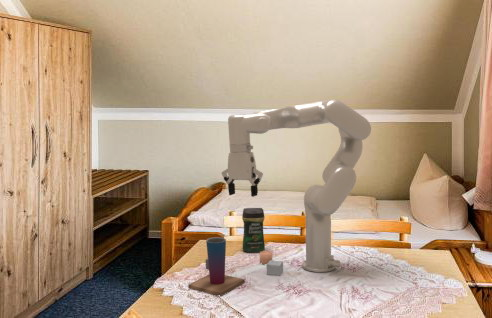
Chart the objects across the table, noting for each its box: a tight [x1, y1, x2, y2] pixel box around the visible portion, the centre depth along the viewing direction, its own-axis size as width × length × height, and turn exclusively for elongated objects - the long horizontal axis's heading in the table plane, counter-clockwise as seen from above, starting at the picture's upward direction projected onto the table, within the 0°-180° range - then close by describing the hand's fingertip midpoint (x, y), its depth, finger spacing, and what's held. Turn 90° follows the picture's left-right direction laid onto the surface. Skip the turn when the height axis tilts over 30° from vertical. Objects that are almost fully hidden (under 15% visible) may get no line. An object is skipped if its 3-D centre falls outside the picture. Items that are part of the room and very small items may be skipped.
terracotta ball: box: [259, 250, 274, 265], centre depth 186 cm, size 5×5×4 cm
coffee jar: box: [241, 207, 266, 253], centre depth 202 cm, size 10×8×19 cm
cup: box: [205, 236, 227, 285], centre depth 163 cm, size 7×7×15 cm
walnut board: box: [187, 274, 246, 297], centre depth 164 cm, size 14×14×1 cm
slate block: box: [266, 259, 284, 277], centre depth 175 cm, size 5×5×4 cm
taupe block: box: [205, 258, 209, 270], centre depth 181 cm, size 6×4×4 cm, turn 64°
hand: (243, 195), depth 172 cm, fingers open, 9 cm apart
